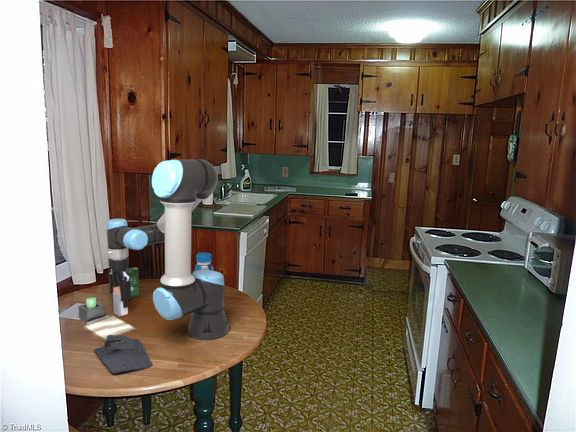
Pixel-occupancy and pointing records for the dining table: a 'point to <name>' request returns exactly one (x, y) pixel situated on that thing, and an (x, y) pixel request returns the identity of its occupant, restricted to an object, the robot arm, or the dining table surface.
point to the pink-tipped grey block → (117, 301)
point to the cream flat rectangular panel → (108, 327)
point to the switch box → (91, 312)
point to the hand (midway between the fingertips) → (120, 312)
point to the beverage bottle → (203, 261)
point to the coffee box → (133, 281)
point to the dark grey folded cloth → (123, 354)
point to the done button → (91, 302)
